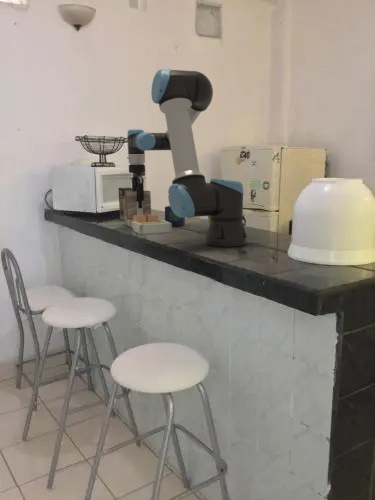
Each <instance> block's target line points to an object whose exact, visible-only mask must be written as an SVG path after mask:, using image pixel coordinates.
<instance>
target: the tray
mask: <svg viewBox="0 0 375 500" xmlns="http://www.w3.org/2000/svg"><path fill="white" fill-rule="evenodd" d="M159 222H160V224H145V225H142V224H140V223H138V222H136V221H134V222H133V228H132V231H133V232H135V233H136V234H138V235H139V236H145V235H156V234H172V231H173V230H172V227H173V226H172V223H170V222H167V221H165V219H160V220H159Z"/></svg>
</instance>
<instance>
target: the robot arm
mask: <svg viewBox="0 0 375 500" xmlns="http://www.w3.org/2000/svg"><path fill="white" fill-rule="evenodd" d="M213 94H214V89H213V85H212V82H211V81H210V78H208V77H207V75H205V74H204V73H202V72H200V71H196V70H181V69H180V70H178V69H171V68H168V69H165V68H164V69H162V68H161V69H158V70H157V71H156V72H155V74H154V77H153V80H152V84H151V99H152V100H151V101H152V102H153V103H154V104H156V105H158V107H159V110H160V112H161V113H163V114H164V117H165V121H166V127H167V131H166V132H148V131H147V132H146V131H144V130H143V129H140V128H134V129H133V128H132V129H128V130H127V135H126V139H127V155H128V156H127V157H126V158H127V160H128V164H129V165H128V173H130V174H132V177H130V178H131V179H130V180H131V188H132V191H136V193H137V200H136V203H137V215H142V214H143V200H144V191H145V190H144V178H143V176H142V174H144V173H146V165H145V163H146V156H145V151H147V152H148V151H170V152H171V157H172V164H173V169H174V175H175V177H174V178H173V179H172V180H171V182H172V183H171V185H170V186H169V187H168V192H167V193H168V196H167V198H168V203H169V206H170V207H171V209H172V211H173V212H174V214H175V215H177V216H178V217H181V218H183V217H185V218H188V219H190V218H191V219H192V218H196V217H198V218H199V217H200V218H201V217H208V216H211V222H210V226H209V225H208V228H207V229H208V230H207V233H206V236H205V244H206V245H209V246H212V247H222V248H223V247H226V248H229V247H231V248H232V247H241V246H245V245H248V235H247V232H246V228H245V225H244V223H243V222H244V220H243V219H244V217H243V216H244V215H243V213H244V212H243V211H244V207H243V206H244V194H245V193H244V187H243V183H242V182H241V181H238V180H232V179H220V178H211V179H210V181H209V182H207V181H206V176H205V175H204V174H203V173H202V172H200V167H199V161H198V156H197V150H196V144H195V139H194V132H193V127H192V126H193V124H194V123H195V121H196V120H197V119H198V117H199V116H200V114H201V113H202V112H204V111H207V109H209V108H208V107H209V106H210V104H211V103H212V99H213V98H214V97H213V96H214V95H213Z"/></svg>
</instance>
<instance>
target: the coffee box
mask: <svg viewBox="0 0 375 500" xmlns="http://www.w3.org/2000/svg"><path fill="white" fill-rule="evenodd" d="M117 189H118V203H119V204H118V205H119V219H120V220H122V221H124V222H125V218H127V217H126V201H125V192H126V191H132V187H118V188H117Z"/></svg>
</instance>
